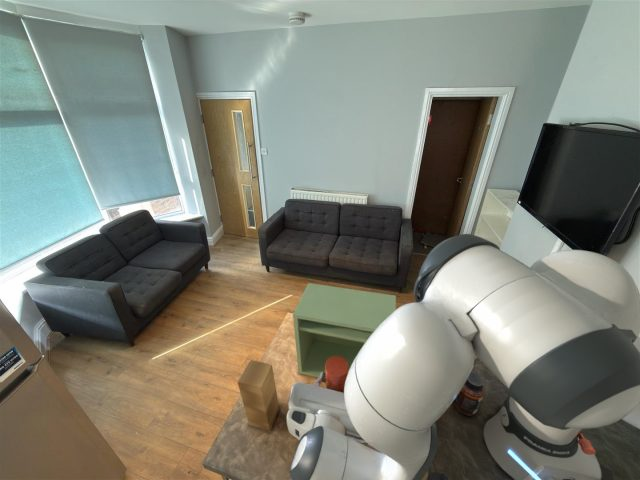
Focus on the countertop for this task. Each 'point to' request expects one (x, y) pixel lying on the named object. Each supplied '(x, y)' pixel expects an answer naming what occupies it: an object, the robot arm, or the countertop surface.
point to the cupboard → (336, 324)
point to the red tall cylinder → (336, 373)
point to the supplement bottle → (470, 395)
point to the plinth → (259, 394)
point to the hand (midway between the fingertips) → (337, 376)
